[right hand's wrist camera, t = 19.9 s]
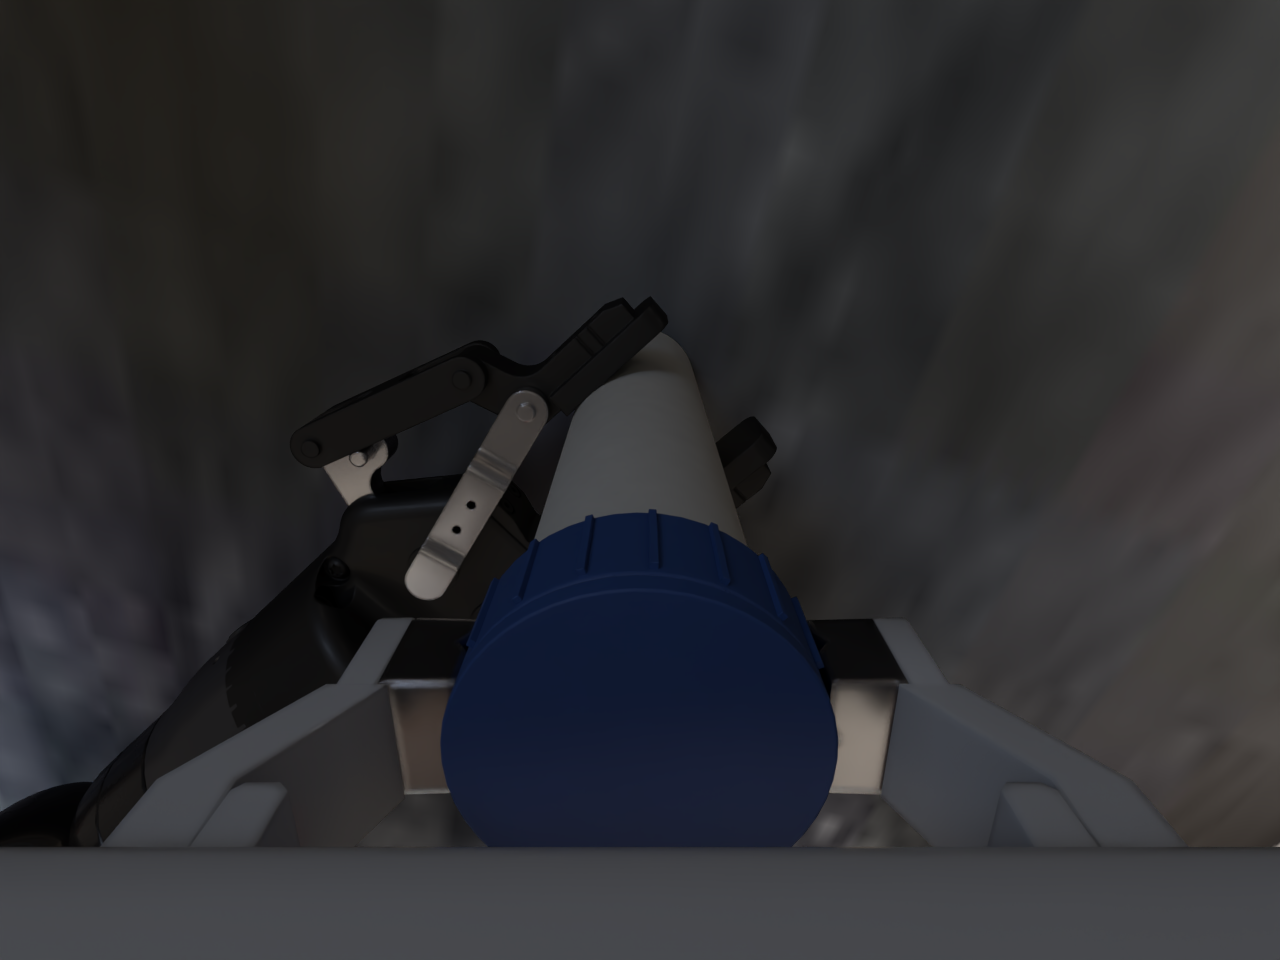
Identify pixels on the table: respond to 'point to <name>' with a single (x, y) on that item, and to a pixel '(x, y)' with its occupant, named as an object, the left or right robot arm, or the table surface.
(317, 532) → the table surface
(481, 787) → the lid
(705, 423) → the bottle
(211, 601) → the table surface
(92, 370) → the table surface
